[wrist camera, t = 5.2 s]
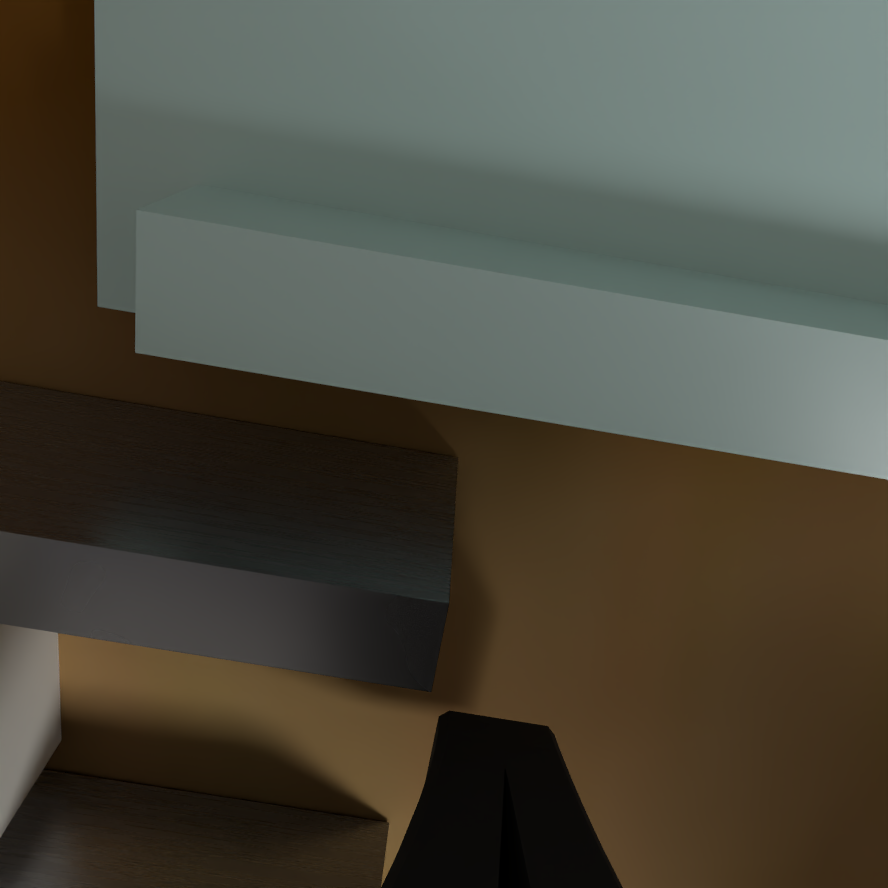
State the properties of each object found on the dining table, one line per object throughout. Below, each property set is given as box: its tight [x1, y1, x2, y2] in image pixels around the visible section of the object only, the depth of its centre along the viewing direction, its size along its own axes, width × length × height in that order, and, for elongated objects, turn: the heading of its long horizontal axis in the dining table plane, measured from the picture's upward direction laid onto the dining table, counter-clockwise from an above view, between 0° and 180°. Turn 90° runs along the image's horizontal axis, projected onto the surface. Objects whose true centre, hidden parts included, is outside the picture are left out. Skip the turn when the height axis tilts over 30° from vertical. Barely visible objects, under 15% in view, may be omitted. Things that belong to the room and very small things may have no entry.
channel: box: [0, 381, 458, 888], centre depth 10 cm, size 6×7×3 cm
